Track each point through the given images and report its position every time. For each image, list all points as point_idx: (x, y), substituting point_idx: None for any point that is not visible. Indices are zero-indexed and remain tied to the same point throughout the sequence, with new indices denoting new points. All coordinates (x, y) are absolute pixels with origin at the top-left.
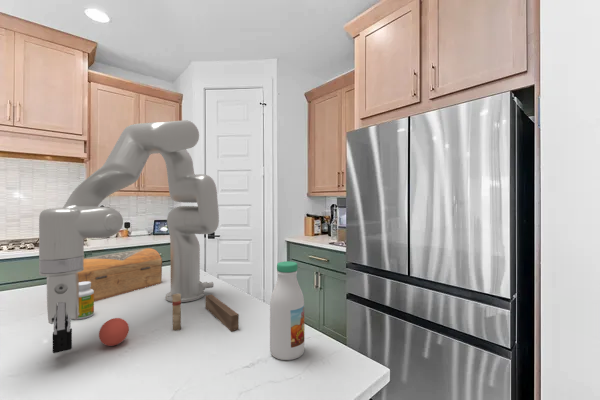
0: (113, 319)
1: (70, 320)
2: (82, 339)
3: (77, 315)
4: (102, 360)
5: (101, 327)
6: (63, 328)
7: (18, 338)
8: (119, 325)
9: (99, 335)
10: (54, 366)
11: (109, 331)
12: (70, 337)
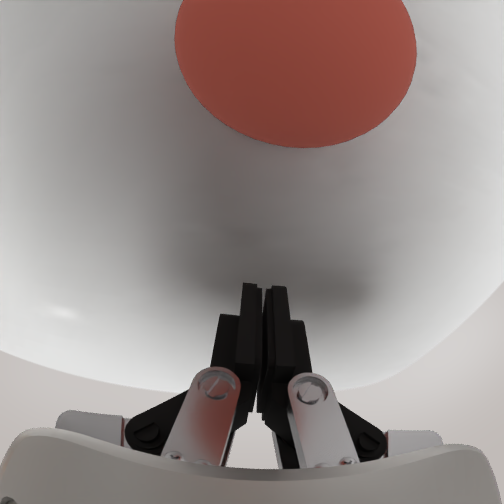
0: (331, 2)
1: (202, 417)
2: (97, 204)
3: (488, 464)
4: (430, 162)
5: (294, 129)
6: (438, 440)
7: (37, 350)
8: (406, 10)
9: (312, 147)
10: (327, 314)
11: (405, 94)
12: (290, 335)
